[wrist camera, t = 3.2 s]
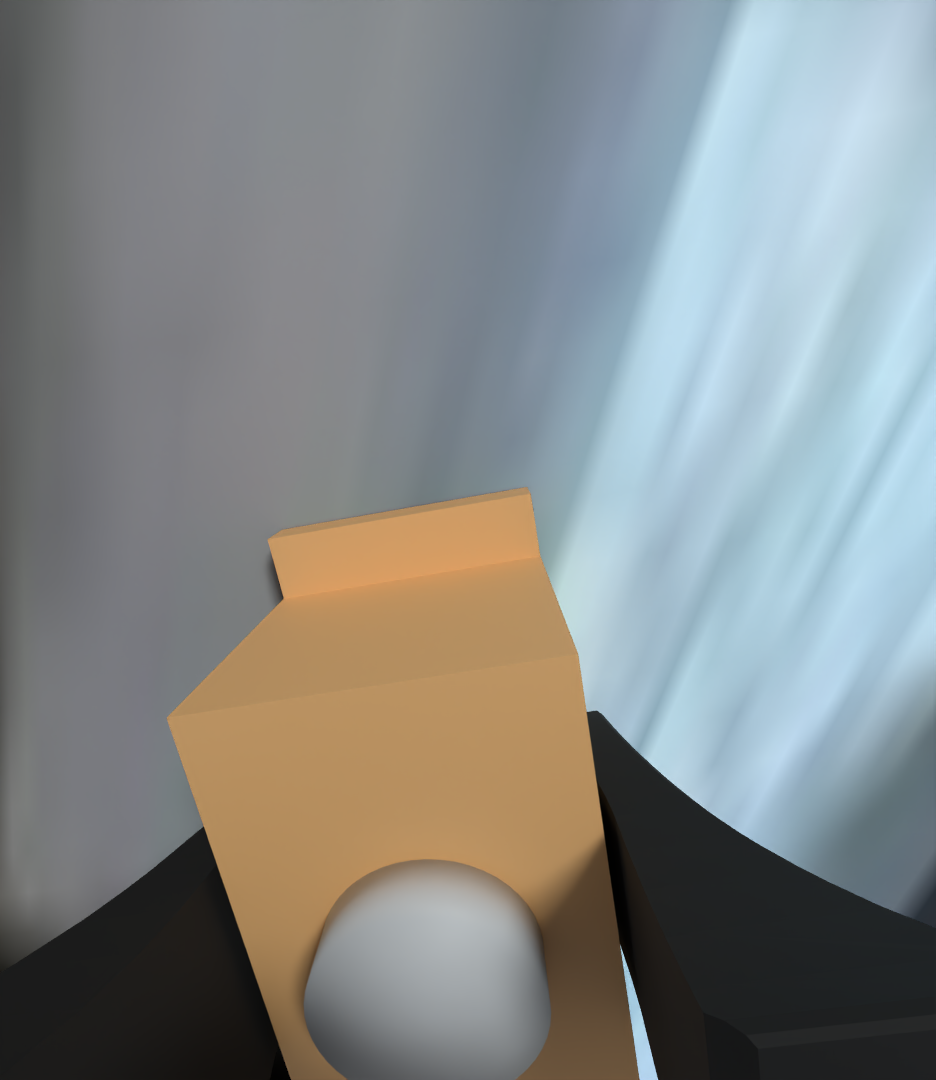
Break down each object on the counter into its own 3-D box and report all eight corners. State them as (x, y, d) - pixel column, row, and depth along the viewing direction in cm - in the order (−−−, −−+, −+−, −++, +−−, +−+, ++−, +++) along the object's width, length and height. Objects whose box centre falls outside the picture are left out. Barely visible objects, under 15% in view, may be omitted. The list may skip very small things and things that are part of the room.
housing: (389, 936, 14) (328, 1304, 8) (282, 530, 11) (88, 657, 6) (592, 910, 14) (673, 1275, 8) (526, 487, 11) (575, 577, 5)
